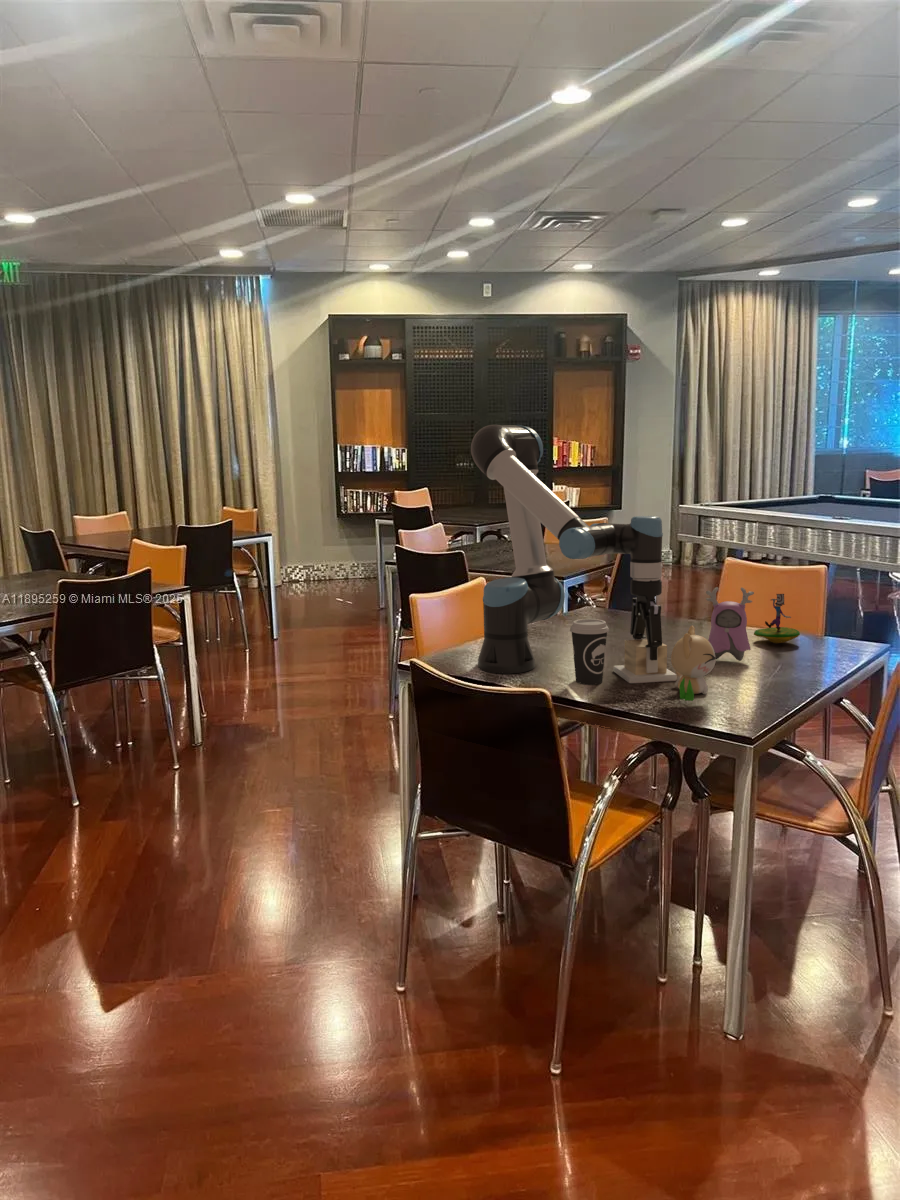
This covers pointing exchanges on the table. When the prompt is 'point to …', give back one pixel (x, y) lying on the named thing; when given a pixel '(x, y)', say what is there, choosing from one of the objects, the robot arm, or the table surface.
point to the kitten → (692, 664)
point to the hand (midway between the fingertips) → (645, 668)
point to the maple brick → (642, 657)
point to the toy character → (729, 626)
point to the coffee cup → (589, 650)
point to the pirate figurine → (779, 632)
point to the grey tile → (643, 676)
